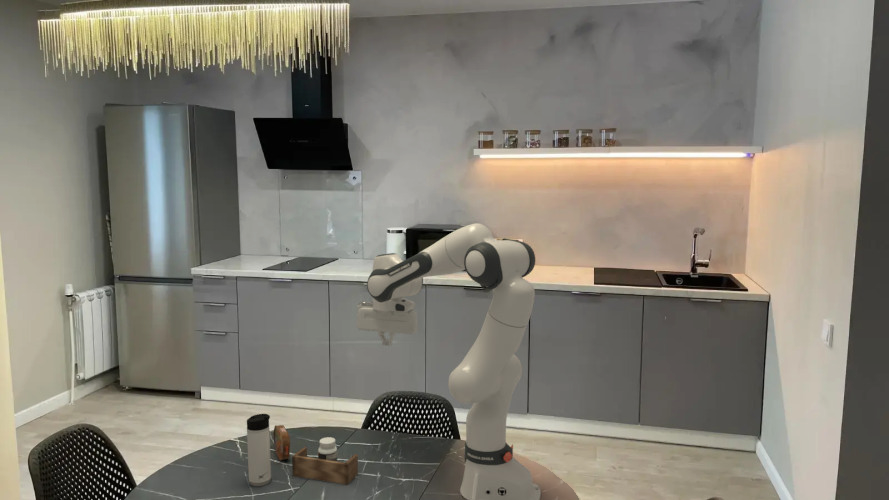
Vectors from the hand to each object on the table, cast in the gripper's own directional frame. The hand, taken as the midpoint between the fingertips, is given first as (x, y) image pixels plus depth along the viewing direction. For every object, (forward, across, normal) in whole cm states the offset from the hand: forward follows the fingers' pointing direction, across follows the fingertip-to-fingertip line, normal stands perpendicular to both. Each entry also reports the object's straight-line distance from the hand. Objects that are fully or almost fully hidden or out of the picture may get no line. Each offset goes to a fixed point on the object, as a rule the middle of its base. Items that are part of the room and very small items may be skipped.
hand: (387, 345), depth 206 cm
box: (+34, -10, -24) cm, 43 cm away
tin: (+34, -30, -16) cm, 48 cm away
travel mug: (+34, -26, -34) cm, 55 cm away
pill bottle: (+34, -10, -22) cm, 42 cm away
